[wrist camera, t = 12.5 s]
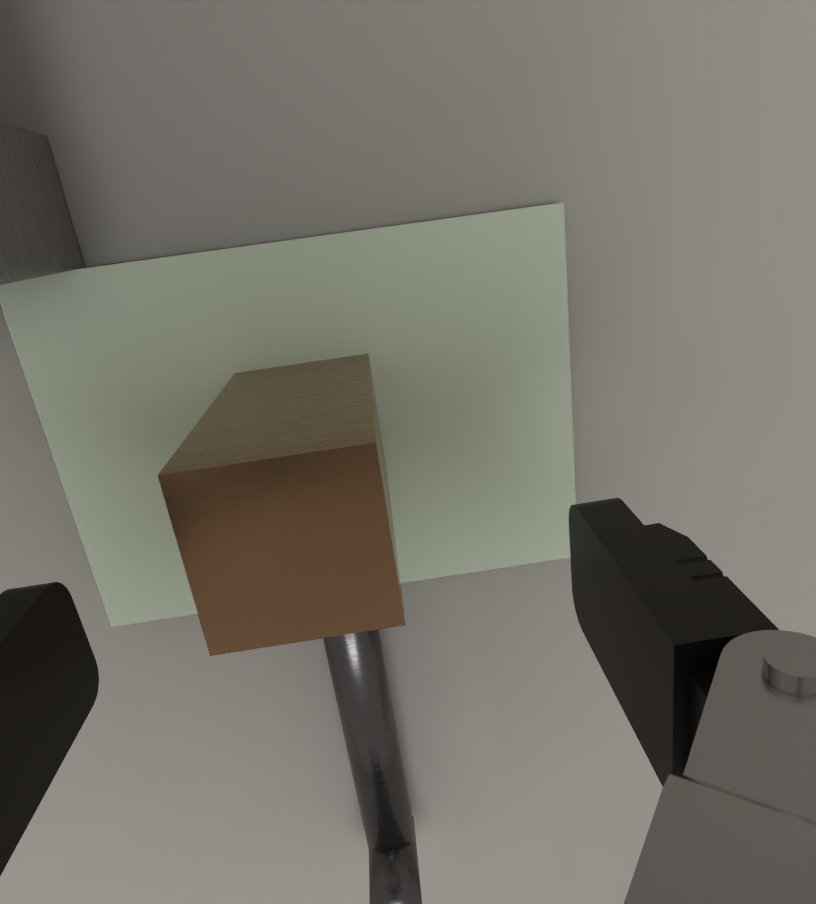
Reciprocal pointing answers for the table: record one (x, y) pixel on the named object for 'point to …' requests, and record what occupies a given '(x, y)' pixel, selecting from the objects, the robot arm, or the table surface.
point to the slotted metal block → (32, 211)
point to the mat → (307, 340)
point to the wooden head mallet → (305, 560)
